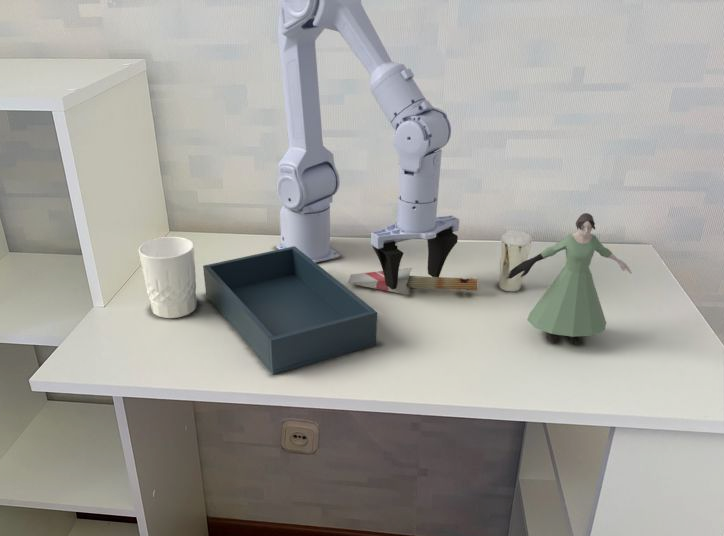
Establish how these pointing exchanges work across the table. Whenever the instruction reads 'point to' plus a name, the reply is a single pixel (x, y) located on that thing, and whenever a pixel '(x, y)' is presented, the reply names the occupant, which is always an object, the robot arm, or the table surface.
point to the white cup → (169, 275)
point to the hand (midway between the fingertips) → (412, 281)
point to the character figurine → (571, 287)
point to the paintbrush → (411, 282)
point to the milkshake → (513, 257)
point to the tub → (289, 308)
